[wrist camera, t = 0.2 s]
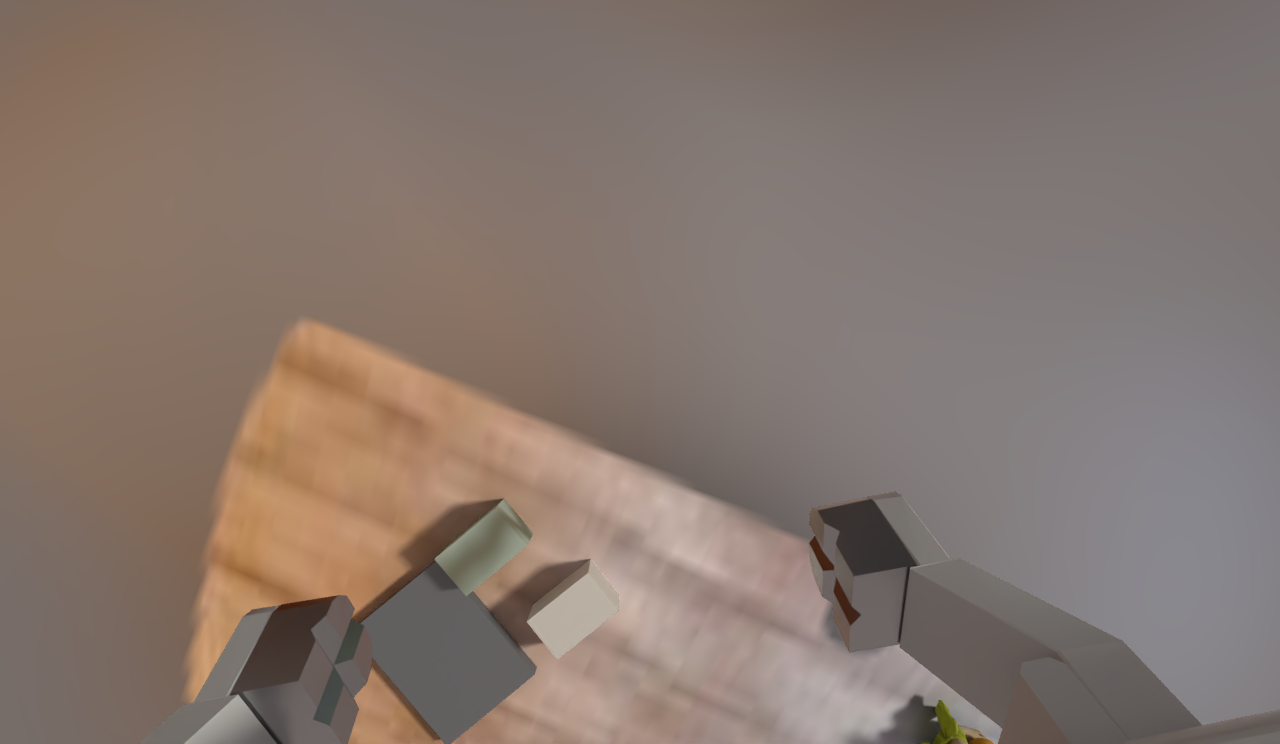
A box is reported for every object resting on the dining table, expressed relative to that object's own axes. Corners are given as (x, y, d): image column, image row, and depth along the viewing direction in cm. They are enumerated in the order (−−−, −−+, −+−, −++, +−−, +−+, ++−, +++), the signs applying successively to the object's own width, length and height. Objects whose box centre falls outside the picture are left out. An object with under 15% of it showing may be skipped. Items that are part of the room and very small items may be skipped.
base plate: (536, 667, 64) (534, 674, 63) (451, 737, 64) (447, 746, 63) (442, 555, 64) (438, 559, 62) (356, 625, 64) (349, 631, 62)
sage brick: (533, 532, 64) (526, 545, 60) (477, 580, 64) (466, 596, 60) (504, 498, 64) (495, 508, 60) (447, 545, 64) (434, 559, 60)
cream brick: (618, 593, 65) (618, 610, 60) (561, 638, 65) (557, 659, 60) (590, 558, 64) (588, 572, 60) (533, 603, 64) (526, 621, 60)
